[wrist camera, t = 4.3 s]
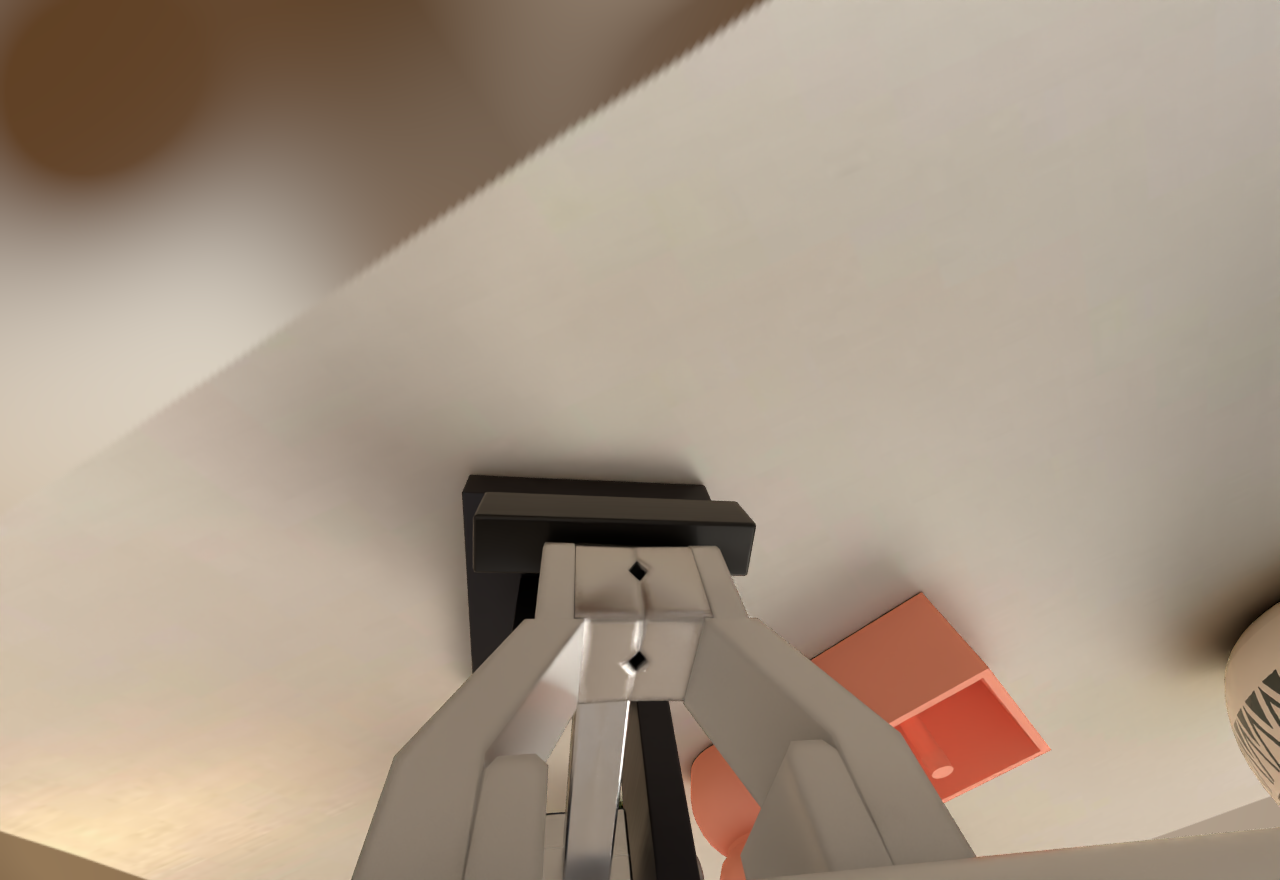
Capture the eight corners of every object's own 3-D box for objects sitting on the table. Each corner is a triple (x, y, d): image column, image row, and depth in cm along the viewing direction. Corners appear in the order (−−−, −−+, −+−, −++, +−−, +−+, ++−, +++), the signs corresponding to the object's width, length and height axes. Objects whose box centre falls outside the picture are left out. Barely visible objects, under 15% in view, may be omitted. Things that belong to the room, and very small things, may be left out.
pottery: (921, 592, 22) (1136, 834, 14) (985, 673, 26) (1184, 902, 18) (647, 760, 26) (679, 1032, 18) (737, 810, 30) (801, 1052, 22)
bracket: (469, 474, 17) (281, 920, 6) (704, 484, 18) (874, 861, 8) (479, 687, 22) (386, 1123, 11) (661, 682, 23) (726, 1065, 13)
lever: (490, 478, 9) (462, 533, 7) (726, 488, 10) (773, 541, 8) (484, 893, 12) (463, 1027, 10) (665, 875, 13) (685, 995, 11)
